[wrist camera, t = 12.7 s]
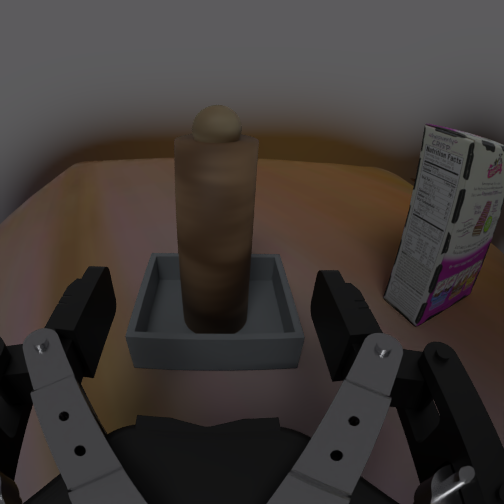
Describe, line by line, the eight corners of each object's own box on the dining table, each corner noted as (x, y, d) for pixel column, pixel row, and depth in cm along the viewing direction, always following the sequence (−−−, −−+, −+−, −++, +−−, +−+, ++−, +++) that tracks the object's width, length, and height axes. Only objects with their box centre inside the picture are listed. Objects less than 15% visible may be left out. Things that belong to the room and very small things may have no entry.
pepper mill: (244, 296, 26) (256, 103, 19) (249, 337, 22) (266, 110, 14) (186, 295, 26) (180, 102, 18) (181, 337, 21) (167, 108, 14)
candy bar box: (439, 272, 32) (478, 134, 24) (470, 295, 28) (518, 151, 20) (378, 297, 28) (422, 119, 20) (414, 329, 24) (478, 137, 16)
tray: (275, 282, 29) (279, 254, 28) (297, 367, 20) (304, 337, 19) (155, 281, 28) (151, 253, 26) (134, 367, 19) (125, 336, 18)
